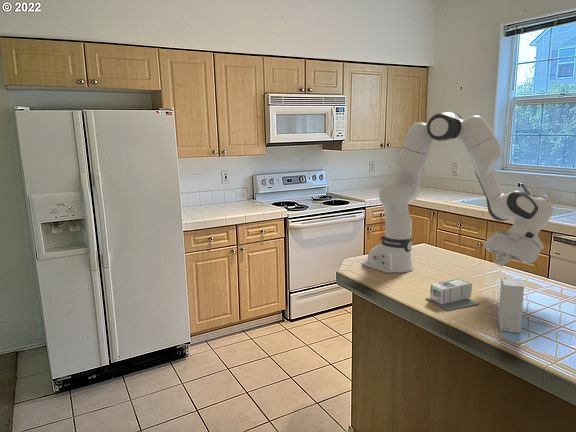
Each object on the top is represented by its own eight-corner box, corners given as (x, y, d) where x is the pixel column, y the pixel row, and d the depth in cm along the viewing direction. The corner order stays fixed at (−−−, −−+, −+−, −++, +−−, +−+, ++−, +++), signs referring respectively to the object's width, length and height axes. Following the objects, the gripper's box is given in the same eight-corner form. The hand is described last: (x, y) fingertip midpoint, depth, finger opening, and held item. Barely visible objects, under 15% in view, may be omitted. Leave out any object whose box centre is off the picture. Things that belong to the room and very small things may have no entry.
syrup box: (472, 282, 157) (442, 288, 150) (471, 298, 158) (441, 304, 151) (460, 278, 162) (430, 283, 156) (459, 293, 163) (429, 299, 157)
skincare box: (520, 334, 131) (526, 287, 128) (498, 331, 133) (503, 285, 130) (517, 322, 139) (522, 278, 136) (496, 319, 141) (501, 276, 138)
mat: (425, 299, 158) (425, 298, 157) (456, 293, 163) (456, 292, 163) (446, 311, 148) (446, 309, 147) (478, 304, 153) (478, 303, 153)
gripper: (493, 225, 170) (472, 251, 168) (540, 237, 151) (517, 267, 150) (501, 235, 172) (480, 261, 171) (548, 248, 154) (525, 278, 152)
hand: (497, 264), depth 160 cm, fingers closed
